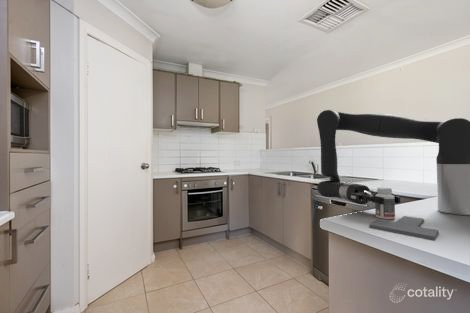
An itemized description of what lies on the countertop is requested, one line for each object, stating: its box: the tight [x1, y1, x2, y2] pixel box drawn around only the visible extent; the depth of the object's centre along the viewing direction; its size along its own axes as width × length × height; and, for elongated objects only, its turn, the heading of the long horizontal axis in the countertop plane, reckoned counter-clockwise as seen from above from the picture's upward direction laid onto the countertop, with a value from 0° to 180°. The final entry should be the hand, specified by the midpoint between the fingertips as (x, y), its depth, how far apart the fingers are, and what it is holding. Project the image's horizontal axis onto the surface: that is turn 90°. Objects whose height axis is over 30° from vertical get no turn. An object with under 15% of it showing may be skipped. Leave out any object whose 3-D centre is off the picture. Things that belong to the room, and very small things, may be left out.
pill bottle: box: [374, 186, 396, 220], centre depth 73 cm, size 5×5×10 cm
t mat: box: [368, 215, 440, 241], centre depth 64 cm, size 18×14×1 cm
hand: (391, 200), depth 71 cm, fingers closed on pill bottle, 5 cm apart
